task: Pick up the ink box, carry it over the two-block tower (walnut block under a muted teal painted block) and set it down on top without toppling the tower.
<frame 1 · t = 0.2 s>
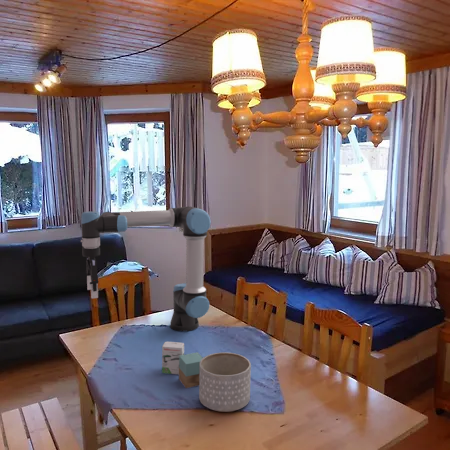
hand: (92, 293, 189), 28 cm above the table, fingers open, 13 cm apart
tower top block: (192, 370, 167), point 5 cm above the table
tower bottom block: (191, 381, 168), on the table
ink box: (173, 371, 176), on the table
planter: (224, 401, 155), on the table
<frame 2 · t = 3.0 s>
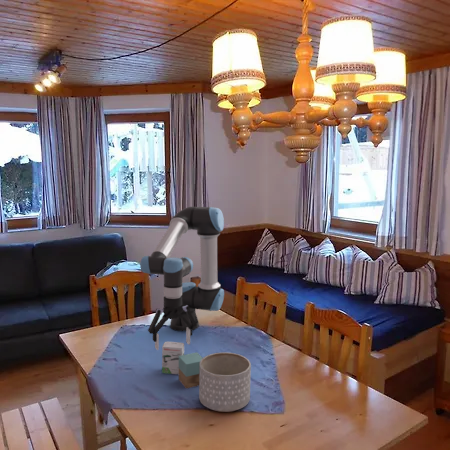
hand: (172, 346, 174), 11 cm above the table, fingers open, 13 cm apart
tower top block: (191, 370, 167), point 5 cm above the table, touching tower bottom block
tower bottom block: (191, 382, 168), on the table, touching tower top block
everything else where it was.
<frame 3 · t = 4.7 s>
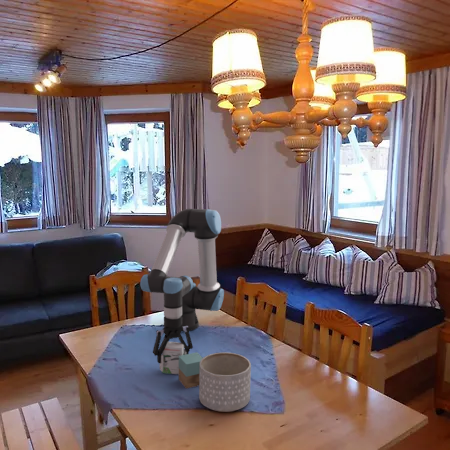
hand: (173, 367, 176), 2 cm above the table, fingers closed on ink box, 9 cm apart
ink box: (173, 371, 176), on the table, touching gripper
everything else where it was.
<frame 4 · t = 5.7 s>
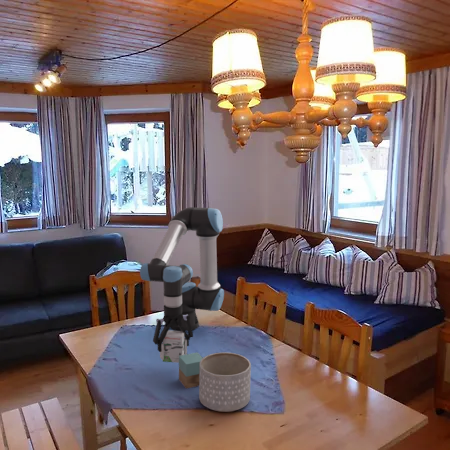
hand: (173, 355, 176), 6 cm above the table, fingers closed on ink box, 9 cm apart
ink box: (173, 360, 176), point 5 cm above the table, touching gripper
everything else where it was.
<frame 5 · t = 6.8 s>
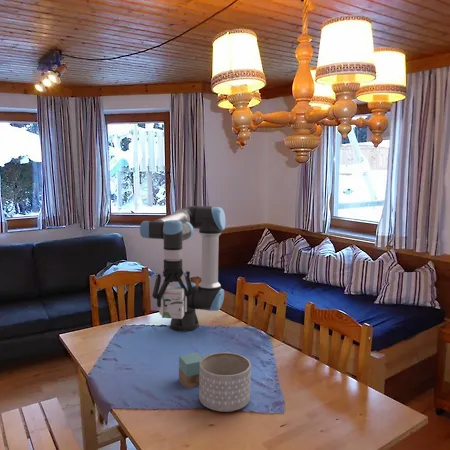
hand: (173, 312, 173), 25 cm above the table, fingers closed on ink box, 9 cm apart
ink box: (173, 316, 173), point 24 cm above the table, touching gripper
everything else where it was.
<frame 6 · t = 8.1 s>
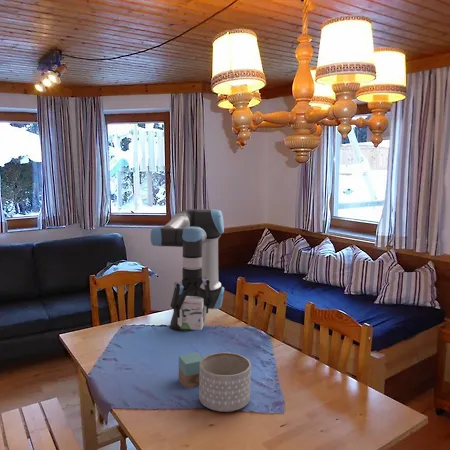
hand: (192, 323, 165), 24 cm above the table, fingers closed on ink box, 9 cm apart
ink box: (192, 327, 165), point 22 cm above the table, touching gripper
everything else where it was.
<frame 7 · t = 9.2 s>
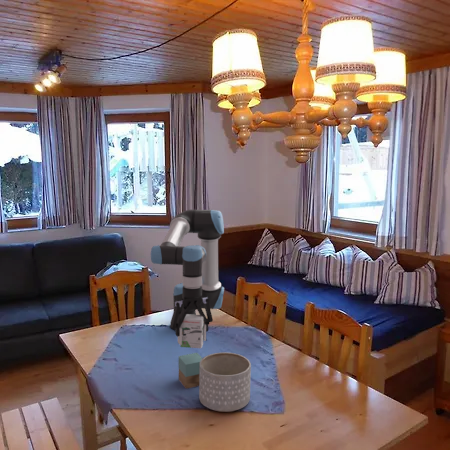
hand: (191, 341, 166), 17 cm above the table, fingers closed on ink box, 9 cm apart
ink box: (192, 345, 166), point 15 cm above the table, touching gripper
everything else where it was.
when the fingers open (13 cm above the table, at t = 10.9 s): ink box drops 2 cm, resting on tower top block.
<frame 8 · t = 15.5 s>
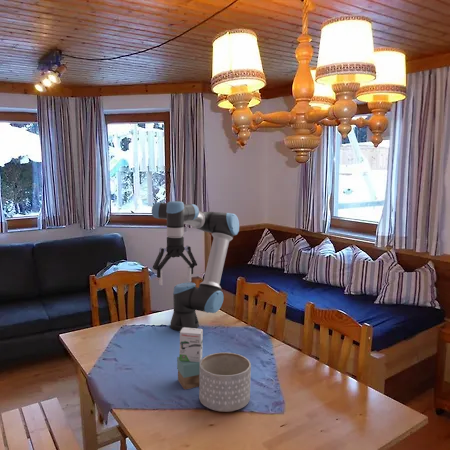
hand: (175, 283, 190), 33 cm above the table, fingers open, 13 cm apart
tower top block: (190, 371, 166), point 5 cm above the table, touching ink box, tower bottom block
ink box: (191, 359, 166), point 10 cm above the table, touching tower top block
everything else where it was.
at the end: ink box inside the target area on the tower top block (0.5 cm from its centre), point 4.8 cm above the tower top block's base; ink box tilted 0°; tower top block moved 1.5 cm from its start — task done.
